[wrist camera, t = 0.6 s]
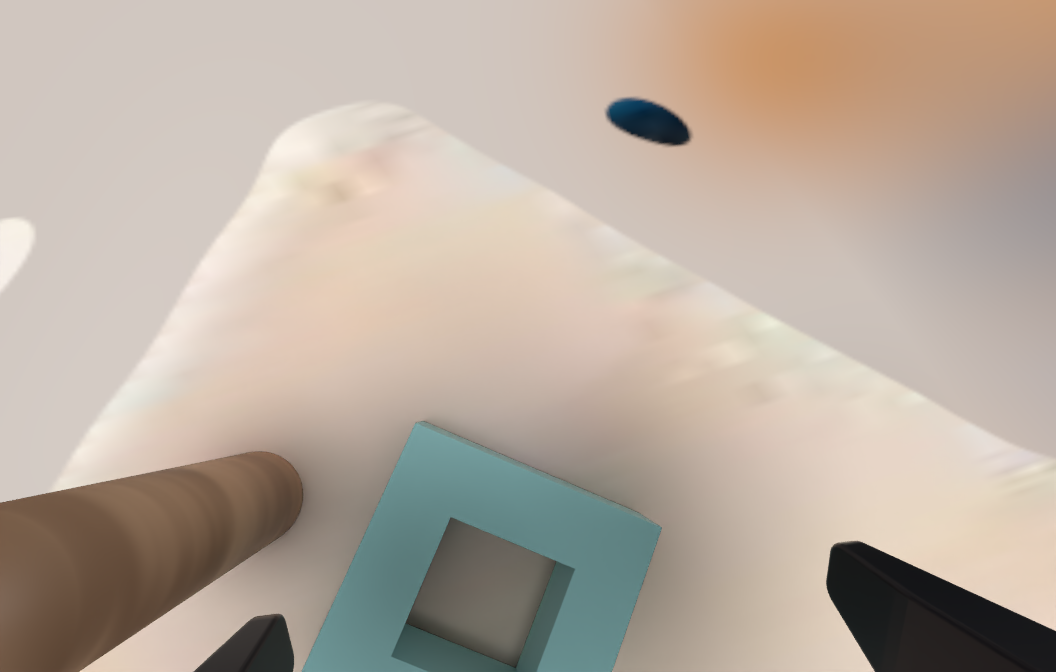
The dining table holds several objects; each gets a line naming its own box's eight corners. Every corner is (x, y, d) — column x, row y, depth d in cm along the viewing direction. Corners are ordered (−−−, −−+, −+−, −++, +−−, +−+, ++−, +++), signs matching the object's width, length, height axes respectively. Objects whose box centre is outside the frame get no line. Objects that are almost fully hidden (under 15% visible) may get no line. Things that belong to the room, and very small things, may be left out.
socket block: (549, 758, 21) (561, 815, 18) (312, 664, 21) (285, 706, 18) (637, 512, 23) (662, 527, 20) (423, 421, 23) (415, 422, 20)
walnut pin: (252, 566, 21) (-61, 792, 9) (185, 502, 21) (-219, 635, 9) (322, 494, 22) (126, 608, 9) (257, 432, 22) (-22, 465, 9)
